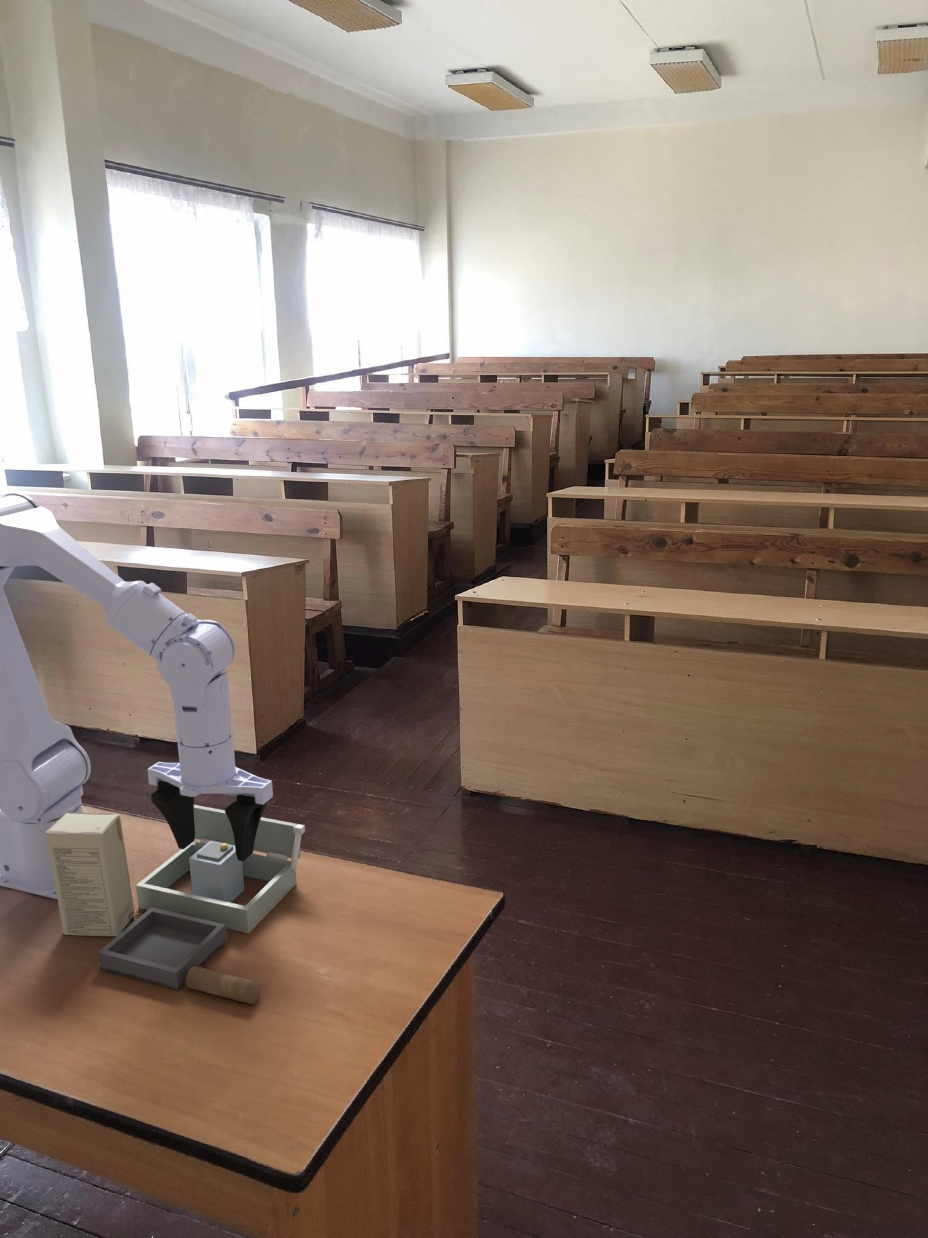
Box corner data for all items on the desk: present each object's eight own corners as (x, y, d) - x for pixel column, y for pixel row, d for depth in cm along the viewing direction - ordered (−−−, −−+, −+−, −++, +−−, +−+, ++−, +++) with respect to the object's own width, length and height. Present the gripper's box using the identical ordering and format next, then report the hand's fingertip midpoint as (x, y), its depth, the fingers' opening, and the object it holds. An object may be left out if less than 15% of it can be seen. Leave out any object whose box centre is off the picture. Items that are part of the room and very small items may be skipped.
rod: (186, 992, 89) (184, 974, 89) (199, 979, 91) (197, 961, 90) (250, 1009, 87) (248, 991, 86) (261, 995, 89) (260, 977, 88)
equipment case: (138, 907, 103) (131, 851, 101) (199, 857, 113) (194, 804, 111) (255, 935, 98) (250, 876, 96) (307, 879, 108) (304, 825, 106)
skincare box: (136, 914, 101) (124, 813, 98) (118, 938, 97) (105, 833, 94) (79, 911, 102) (65, 810, 99) (59, 935, 98) (44, 830, 95)
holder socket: (100, 970, 92) (97, 952, 92) (153, 923, 100) (151, 907, 99) (178, 990, 89) (176, 973, 89) (226, 941, 97) (225, 924, 96)
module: (193, 902, 104) (188, 852, 102) (214, 883, 107) (209, 835, 106) (224, 909, 102) (219, 859, 101) (244, 890, 106) (240, 841, 104)
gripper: (124, 742, 98) (137, 857, 102) (243, 761, 93) (252, 881, 97) (166, 718, 105) (177, 827, 108) (279, 734, 100) (287, 848, 104)
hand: (215, 850), depth 103 cm, fingers open, 7 cm apart
